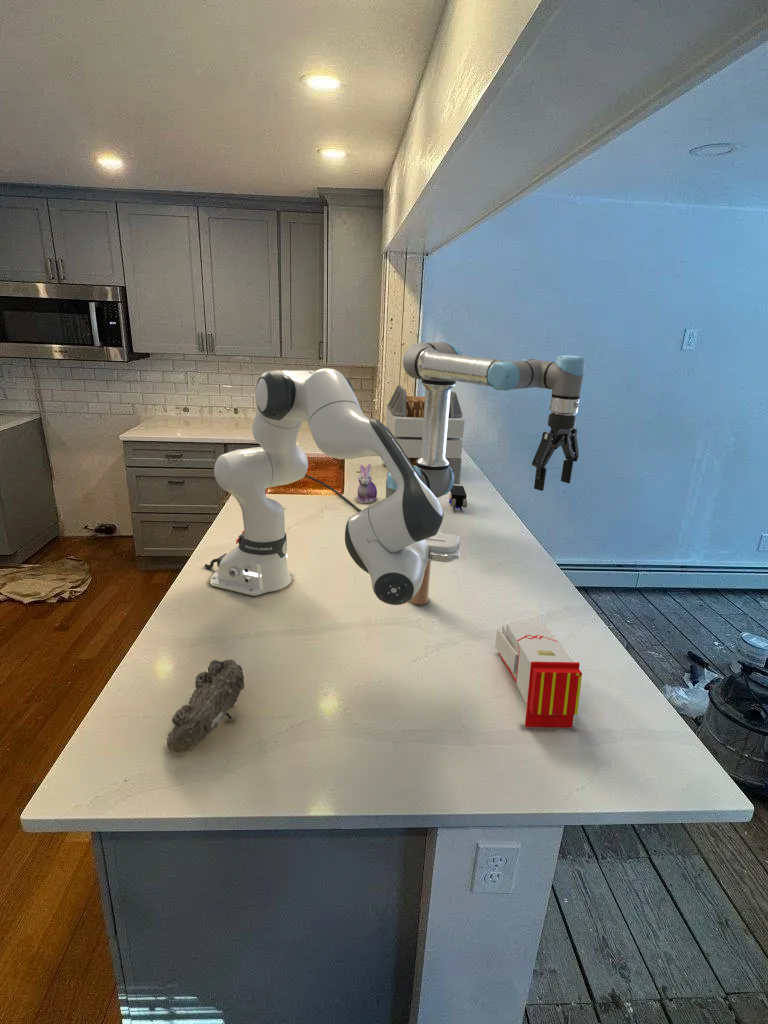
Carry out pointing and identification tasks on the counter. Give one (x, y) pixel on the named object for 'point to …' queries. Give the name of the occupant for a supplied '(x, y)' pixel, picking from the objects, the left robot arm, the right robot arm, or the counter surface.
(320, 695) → the counter surface
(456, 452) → the slatted wooden crate
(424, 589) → the bottle
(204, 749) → the counter surface
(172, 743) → the fossil
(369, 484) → the figurine
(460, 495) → the figurine character
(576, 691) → the toy
